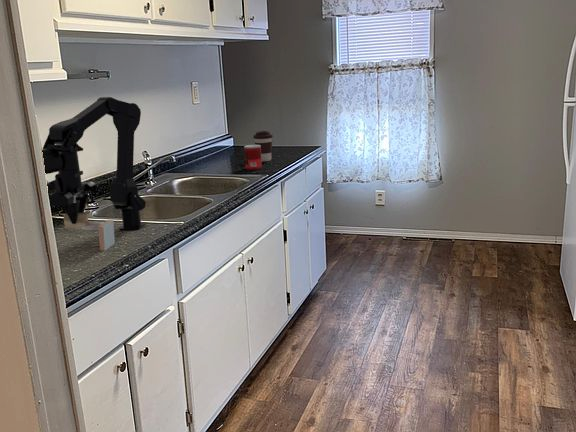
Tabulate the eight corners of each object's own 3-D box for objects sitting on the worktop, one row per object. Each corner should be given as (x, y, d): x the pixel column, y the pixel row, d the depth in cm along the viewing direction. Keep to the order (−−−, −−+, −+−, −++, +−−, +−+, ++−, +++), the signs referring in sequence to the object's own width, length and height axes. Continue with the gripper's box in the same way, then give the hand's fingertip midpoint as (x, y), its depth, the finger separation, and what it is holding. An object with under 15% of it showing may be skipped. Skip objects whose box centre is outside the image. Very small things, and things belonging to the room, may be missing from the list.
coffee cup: (271, 162, 299) (270, 132, 295) (252, 162, 301) (251, 133, 297) (275, 158, 309) (274, 130, 305) (257, 159, 310) (255, 130, 307)
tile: (109, 242, 173) (108, 220, 171) (114, 243, 173) (113, 220, 171) (100, 250, 166) (98, 226, 164) (105, 250, 166) (103, 226, 164)
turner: (71, 225, 172) (69, 211, 171) (107, 224, 170) (105, 211, 169) (63, 229, 167) (61, 216, 166) (99, 229, 166) (98, 215, 165)
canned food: (265, 167, 284) (263, 145, 281) (253, 170, 279) (251, 147, 276) (254, 166, 289) (253, 144, 287) (242, 168, 284) (240, 146, 281)
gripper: (58, 163, 174) (65, 214, 179) (23, 176, 157) (33, 232, 161) (93, 162, 173) (100, 213, 177) (63, 175, 155) (71, 231, 159)
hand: (76, 222), depth 169 cm, fingers closed on turner, 3 cm apart
